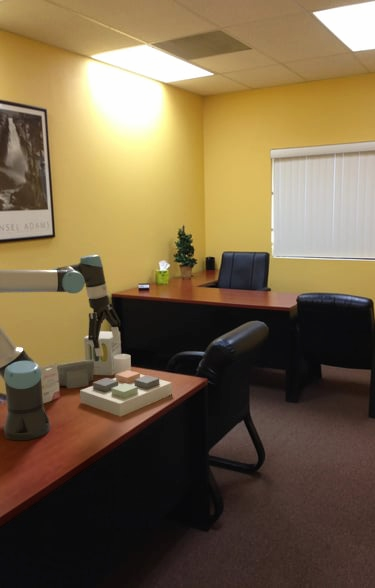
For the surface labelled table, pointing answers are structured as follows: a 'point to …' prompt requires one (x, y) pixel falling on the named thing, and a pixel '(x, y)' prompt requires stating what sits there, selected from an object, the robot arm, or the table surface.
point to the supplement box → (110, 349)
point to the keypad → (126, 405)
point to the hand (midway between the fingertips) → (109, 349)
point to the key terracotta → (127, 376)
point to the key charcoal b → (146, 382)
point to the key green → (124, 390)
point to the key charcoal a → (105, 384)
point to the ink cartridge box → (49, 383)
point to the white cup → (121, 363)
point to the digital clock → (76, 373)
